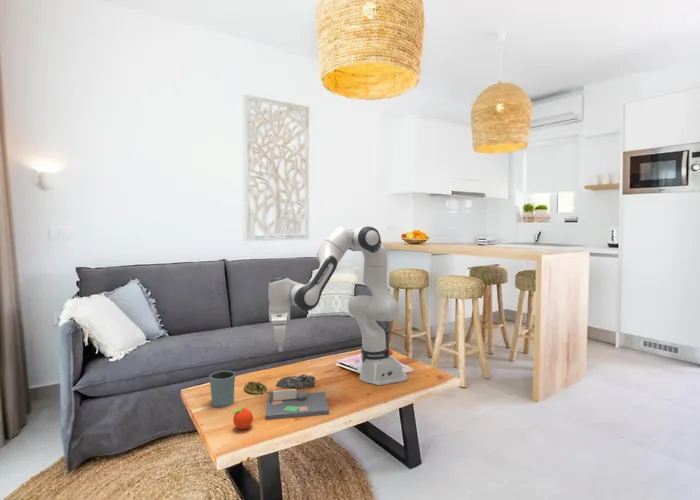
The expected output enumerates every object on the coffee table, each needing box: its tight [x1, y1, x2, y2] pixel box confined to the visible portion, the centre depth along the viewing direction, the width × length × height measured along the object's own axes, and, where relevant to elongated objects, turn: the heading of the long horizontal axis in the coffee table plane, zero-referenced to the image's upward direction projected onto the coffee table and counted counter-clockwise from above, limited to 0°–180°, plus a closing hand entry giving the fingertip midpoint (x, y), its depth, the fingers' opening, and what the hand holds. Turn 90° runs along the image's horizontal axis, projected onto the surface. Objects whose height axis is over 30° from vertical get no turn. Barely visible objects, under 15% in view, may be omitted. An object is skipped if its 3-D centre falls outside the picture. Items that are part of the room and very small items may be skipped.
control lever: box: [268, 388, 308, 401], centre depth 167 cm, size 15×4×4 cm, turn 99°
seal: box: [243, 381, 268, 396], centre depth 182 cm, size 9×5×15 cm
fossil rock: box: [275, 374, 316, 391], centre depth 188 cm, size 19×4×15 cm
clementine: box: [229, 407, 254, 430], centre depth 147 cm, size 8×7×7 cm
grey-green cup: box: [209, 369, 236, 408], centre depth 169 cm, size 10×10×12 cm
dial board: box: [264, 391, 330, 421], centre depth 164 cm, size 24×18×2 cm
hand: (280, 348), depth 172 cm, fingers open, 6 cm apart
